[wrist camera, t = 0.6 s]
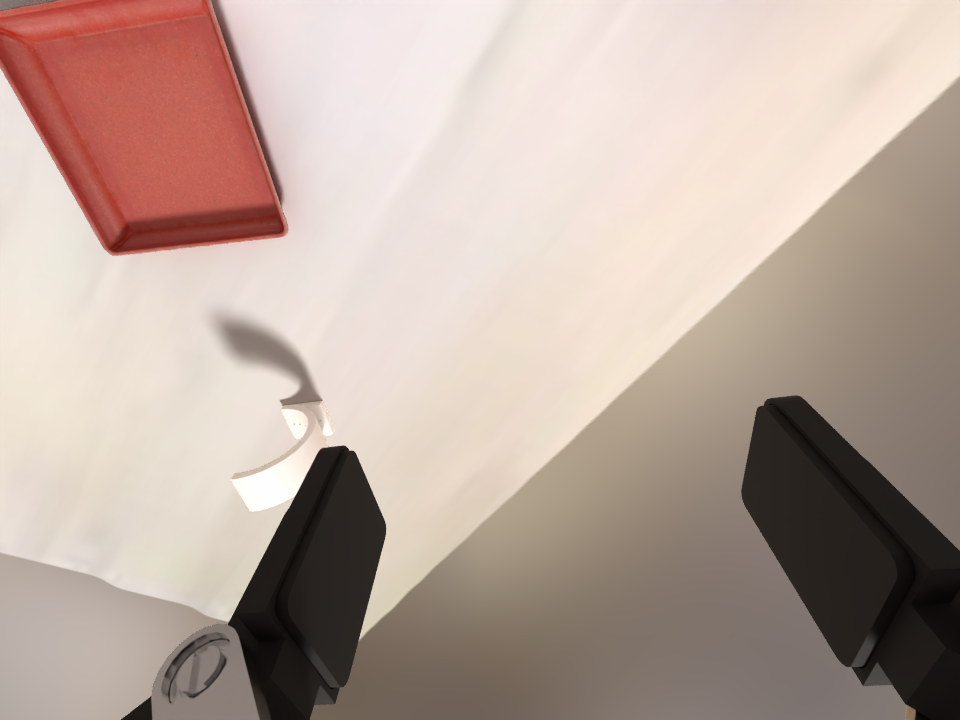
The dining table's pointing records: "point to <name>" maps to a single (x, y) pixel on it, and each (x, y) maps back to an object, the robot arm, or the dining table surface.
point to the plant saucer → (143, 120)
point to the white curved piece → (287, 459)
